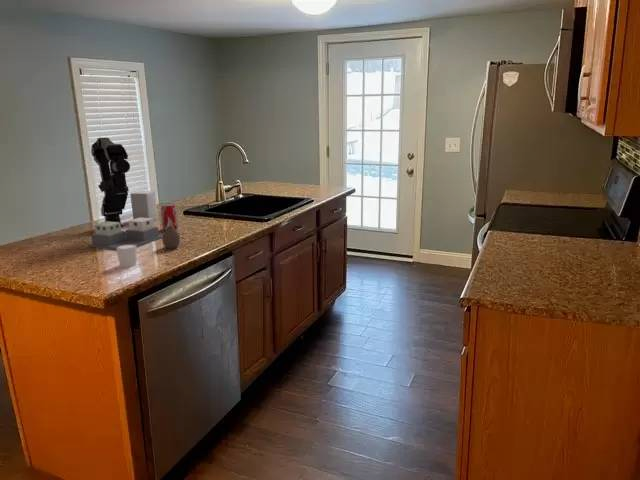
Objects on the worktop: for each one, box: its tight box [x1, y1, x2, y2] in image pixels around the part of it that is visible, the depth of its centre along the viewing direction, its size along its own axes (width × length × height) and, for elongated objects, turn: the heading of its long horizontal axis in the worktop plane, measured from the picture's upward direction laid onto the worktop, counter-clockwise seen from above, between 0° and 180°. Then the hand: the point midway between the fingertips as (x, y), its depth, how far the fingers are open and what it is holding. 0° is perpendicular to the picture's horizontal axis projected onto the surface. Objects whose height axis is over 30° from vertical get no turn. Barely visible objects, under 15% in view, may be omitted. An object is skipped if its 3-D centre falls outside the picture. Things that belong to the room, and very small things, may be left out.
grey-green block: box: [94, 221, 122, 236], centre depth 206 cm, size 7×7×6 cm
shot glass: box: [116, 245, 138, 268], centre depth 179 cm, size 7×7×7 cm
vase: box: [161, 226, 181, 250], centre depth 201 cm, size 7×7×9 cm
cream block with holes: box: [128, 217, 155, 231], centre depth 213 cm, size 7×7×6 cm
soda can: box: [160, 202, 179, 231], centre depth 232 cm, size 7×7×12 cm
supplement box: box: [129, 190, 158, 222], centre depth 250 cm, size 9×9×15 cm
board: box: [87, 226, 163, 251], centre depth 211 cm, size 20×23×5 cm
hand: (123, 209), depth 218 cm, fingers closed
